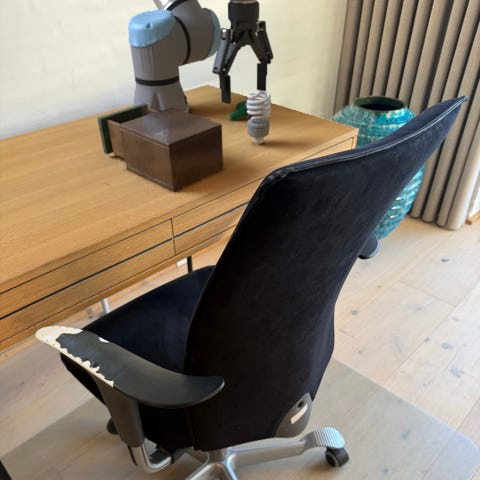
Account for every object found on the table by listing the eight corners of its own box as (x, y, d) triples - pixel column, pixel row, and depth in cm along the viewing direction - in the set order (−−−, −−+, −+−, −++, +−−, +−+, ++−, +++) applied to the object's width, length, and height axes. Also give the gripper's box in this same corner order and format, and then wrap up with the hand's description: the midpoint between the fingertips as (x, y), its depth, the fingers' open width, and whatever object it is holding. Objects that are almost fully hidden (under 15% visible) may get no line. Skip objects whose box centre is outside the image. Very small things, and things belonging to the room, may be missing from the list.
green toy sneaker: (237, 128, 127) (253, 113, 124) (227, 117, 126) (243, 101, 122) (244, 116, 134) (259, 101, 130) (235, 105, 132) (250, 90, 129)
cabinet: (126, 169, 104) (118, 124, 98) (176, 150, 112) (171, 106, 105) (173, 192, 96) (168, 144, 90) (223, 169, 104) (221, 124, 97)
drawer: (91, 147, 111) (84, 112, 106) (136, 131, 118) (131, 98, 113) (143, 171, 101) (138, 134, 96) (189, 153, 108) (186, 117, 103)
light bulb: (259, 137, 117) (260, 85, 109) (274, 144, 114) (276, 91, 106) (241, 143, 115) (241, 90, 107) (256, 150, 111) (257, 96, 103)
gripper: (216, 9, 103) (221, 111, 117) (289, -5, 116) (285, 88, 130) (193, 6, 107) (200, 105, 121) (266, -8, 120) (264, 83, 134)
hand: (244, 96), depth 126 cm, fingers open, 13 cm apart
